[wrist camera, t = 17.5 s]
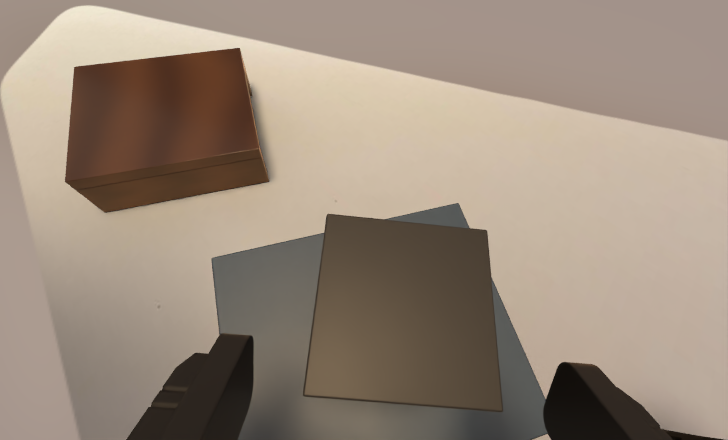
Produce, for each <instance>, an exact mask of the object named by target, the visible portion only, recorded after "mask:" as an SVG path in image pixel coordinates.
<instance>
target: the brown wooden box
mask: <svg viewBox="0 0 728 440" xmlns="http://www.w3.org/2000/svg"><path fill="white" fill-rule="evenodd" d="M251 96H252V93H251V88H250V84H249V80H248V77H247V73H246V69H245V66H244V62H243V58H242V54H241V51H240V48H235V49H226V50H217V51H209V52H200V53H191V54H183V55H174V56H165V57H156V58H148V59H139V60H130V61H122V62H113V63H104V64H96V65H87V66H78V67H74V78H73V90H72V103H71V115H70V127H69V140H68V152H67V165H66V177H65V182H66V183H67V184H69V185H70V186H71V187H72V188H74V189H75V190H76V191H78V192H79V193H80V194H82V195H83V196H84V197H85V198H87V199H88V200H89V201H91V202H92V203H93V204H94V205H96V206H97V207H98V208H100V209H101V210H102V211H103V212H110V211H115V210H120V209H126V208H131V207H136V206H142V205H147V204H152V203H157V202H163V201H168V200H173V199H179V198H184V197H189V196H195V195H200V194H205V193H210V192H216V191H221V190H226V189H232V188H237V187H242V186H247V185H253V184H258V183H263V182H269V179H268V174H267V169H266V166H265V163H264V159H263V156H262V153H261V149H260V146H259V141H258V135H257V130H256V125H255V120H254V115H253V110H252V104H251V99H250V97H251Z"/></svg>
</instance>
